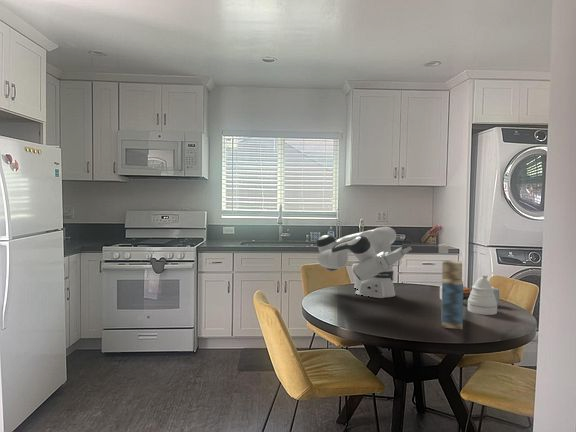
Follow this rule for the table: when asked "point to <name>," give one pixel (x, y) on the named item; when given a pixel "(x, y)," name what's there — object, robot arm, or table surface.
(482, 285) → the honey pot
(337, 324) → the table surface
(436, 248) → the dark gray bar
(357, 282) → the cup
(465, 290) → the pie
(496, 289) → the medicine box
